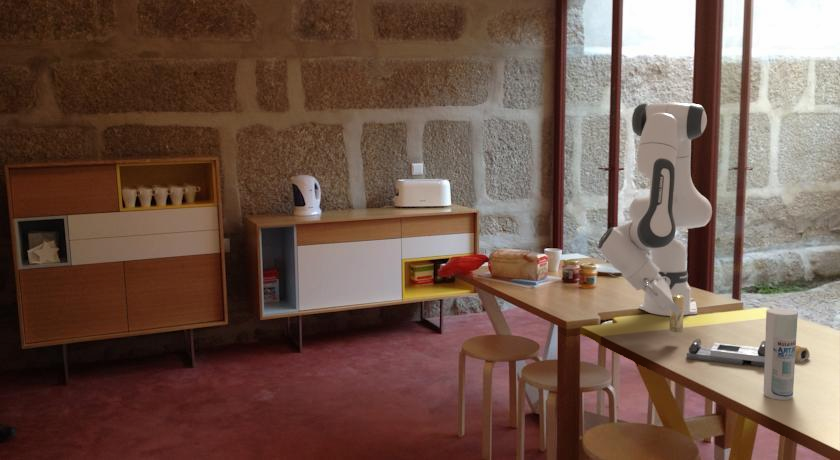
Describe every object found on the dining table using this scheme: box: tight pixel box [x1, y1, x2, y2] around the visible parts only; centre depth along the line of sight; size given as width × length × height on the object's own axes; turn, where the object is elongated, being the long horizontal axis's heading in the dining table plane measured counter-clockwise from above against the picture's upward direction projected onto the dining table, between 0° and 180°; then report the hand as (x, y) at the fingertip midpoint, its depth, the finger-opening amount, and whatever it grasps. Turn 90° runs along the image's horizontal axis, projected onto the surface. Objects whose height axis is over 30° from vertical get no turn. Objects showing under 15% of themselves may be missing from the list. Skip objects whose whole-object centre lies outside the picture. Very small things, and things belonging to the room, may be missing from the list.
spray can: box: [763, 307, 799, 401], centre depth 180 cm, size 6×6×20 cm
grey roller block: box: [686, 338, 765, 368], centre depth 209 cm, size 20×8×5 cm, turn 61°
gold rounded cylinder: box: [669, 295, 684, 333], centre depth 223 cm, size 4×4×10 cm
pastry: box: [795, 345, 810, 363], centre depth 210 cm, size 9×7×4 cm
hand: (679, 310), depth 222 cm, fingers closed on gold rounded cylinder, 4 cm apart
